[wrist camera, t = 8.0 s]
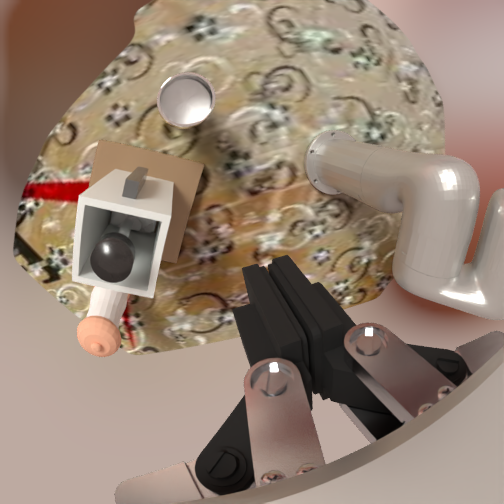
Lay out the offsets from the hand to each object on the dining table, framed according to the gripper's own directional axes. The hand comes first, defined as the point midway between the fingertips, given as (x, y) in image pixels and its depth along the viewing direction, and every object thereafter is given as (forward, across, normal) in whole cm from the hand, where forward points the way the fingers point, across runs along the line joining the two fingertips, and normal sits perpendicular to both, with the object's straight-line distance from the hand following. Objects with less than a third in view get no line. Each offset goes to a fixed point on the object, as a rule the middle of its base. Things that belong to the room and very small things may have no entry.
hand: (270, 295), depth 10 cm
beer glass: (+39, 0, -10) cm, 40 cm away
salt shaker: (+39, +21, +17) cm, 48 cm away
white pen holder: (+39, +12, +4) cm, 41 cm away
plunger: (+36, +12, +4) cm, 38 cm away
